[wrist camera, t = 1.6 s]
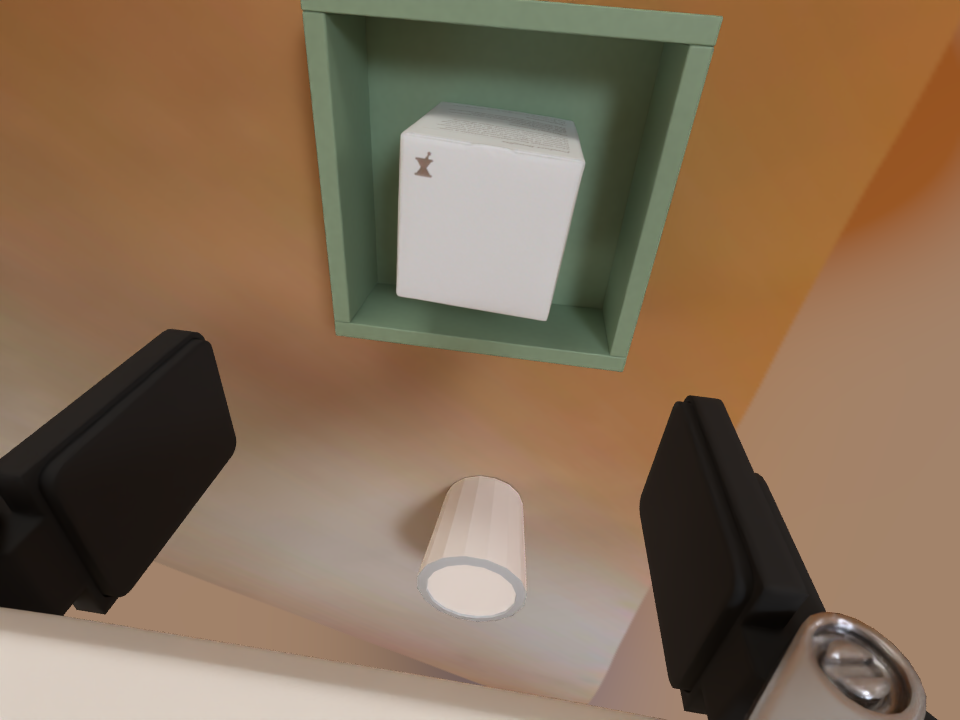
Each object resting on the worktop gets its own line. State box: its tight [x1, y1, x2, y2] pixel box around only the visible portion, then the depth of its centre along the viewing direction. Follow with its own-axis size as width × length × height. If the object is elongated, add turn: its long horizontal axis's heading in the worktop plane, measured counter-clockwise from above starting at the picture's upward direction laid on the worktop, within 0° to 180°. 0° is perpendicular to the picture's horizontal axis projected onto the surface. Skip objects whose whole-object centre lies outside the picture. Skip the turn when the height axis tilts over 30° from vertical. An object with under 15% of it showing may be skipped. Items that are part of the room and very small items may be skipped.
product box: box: [396, 102, 585, 321], centre depth 21 cm, size 6×6×7 cm
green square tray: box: [301, 0, 723, 372], centre depth 22 cm, size 14×14×5 cm
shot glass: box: [417, 476, 527, 622], centre depth 34 cm, size 7×7×7 cm
